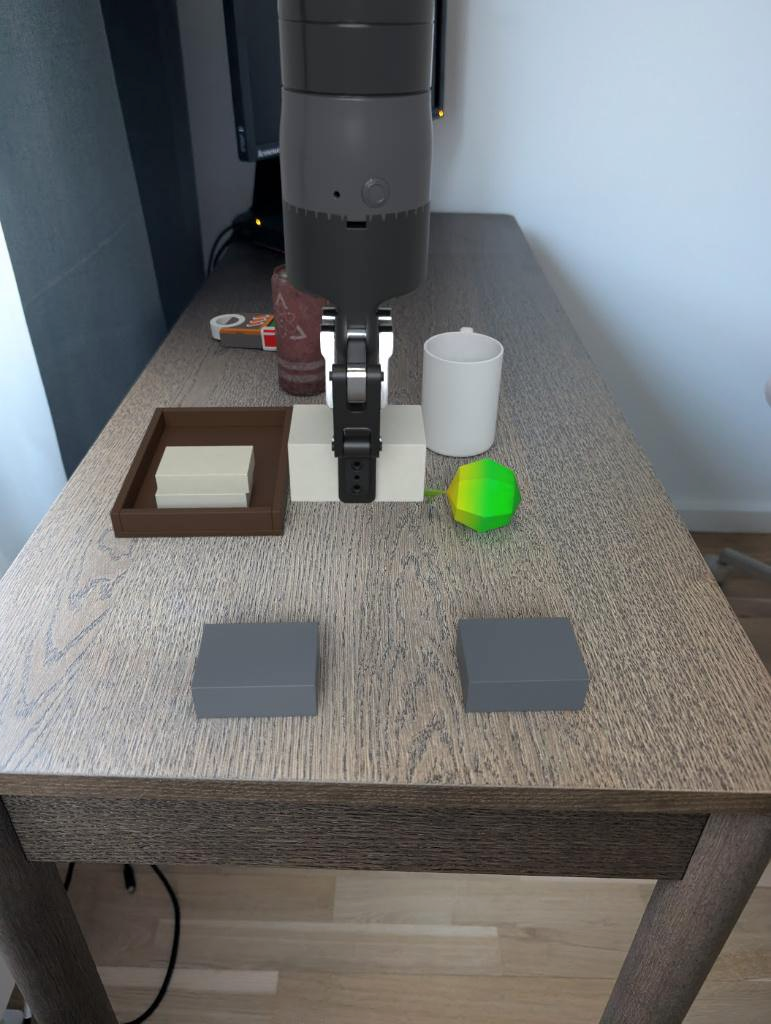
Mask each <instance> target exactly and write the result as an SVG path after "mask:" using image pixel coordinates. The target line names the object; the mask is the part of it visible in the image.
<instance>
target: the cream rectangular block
mask: <svg viewBox="0 0 771 1024" xmlns="http://www.w3.org/2000/svg"><path fill="white" fill-rule="evenodd" d="M345 429H369V428H345ZM333 435H334V430H333V410H331V409H330V408H328V406H327V405H326V404H293V413H292V420H291V426H290V433H289V440H288V457H289V473H290V477H289V486H290V487H289V488H290V489H289V490H290V502H297V503H298V502H301V503H303V502H304V503H305V502H308V503H309V502H313V503H314V502H319V503H320V502H323V503H324V502H327V503H329V502H333V503H334V502H335V503H336V502H341V501H340V499H339V494H338V458H335V457H334V451H332V442H333ZM380 436H381V442H382V451H379V458H376V498H375V500H374V501H373V502H372V503H374V502H375V503H377V502H378V503H379V502H385V503H387V502H393V503H394V502H395V503H396V502H399V503H401V502H402V503H404V502H406V503H407V502H408V503H409V502H412V503H413V502H415V503H416V502H417V503H418V502H419V503H420V502H424V499H425V498H424V489H425V480H426V479H425V478H426V463H427V444H426V437H425V430H424V423H423V416H422V409H421V404H387V406H386V408H385V409H383V410H381V412H380ZM341 503H342V502H341Z"/></svg>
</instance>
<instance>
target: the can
mask: <svg viewBox="0 0 771 1024" xmlns="http://www.w3.org/2000/svg"><path fill="white" fill-rule="evenodd" d="M270 279H271V280H270V281H271V294H272V309H273V314H274V324H275V337H276V351H275V352H276V364H277V375H278V384H279V386H280V387H281V389H282V390H283V391H284V392H285V393H287V394H289V395H292V396H297V397H311V396H316V395H319V394H322V393H323V392H326V376H325V358H324V356H323V355H322V354H321V347H320V326H321V324H322V307H329V304H330V302H329V301H327V300H325V299H323V298H320V297H317V298H314V297H311V296H308V295H306V294H304V293H302V292H300V291H298V290H297V289H296V288H294V287H293V286H292V285H291V283H290V282H289V280H288V278H287V275H286V263H284V264H281V265H278V266H276V267H275V268H274V269H273V274H272V276H271V278H270Z"/></svg>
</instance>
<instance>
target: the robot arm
mask: <svg viewBox="0 0 771 1024" xmlns="http://www.w3.org/2000/svg"><path fill="white" fill-rule="evenodd" d="M435 2H436V1H435V0H277V2H276V3H277V8H276V9H277V18H278V20H277V27H278V29H277V30H278V45H279V48H278V49H279V64H280V85H282V86H281V91H280V92H281V95H280V97H281V103H280V118H279V119H280V120H279V130H278V131H279V133H278V146H279V147H278V148H279V149H278V150H279V152H278V153H279V164H280V166H279V169H280V186H281V204H282V207H281V208H282V223H283V242H284V260H285V264H286V275H287V278H288V280H289V282H290V283H291V285H292V286H293V287H294V288H296V289H297V290H298V291H300V292H302V293H304V294H306V295H308V296H311V297H314V298H317V297H320V298H323V299H325V300H327V301H329V303H331V304H333V306H328V307H322V324H321V326H320V347H321V354H322V355H323V356H324V358H325V376H326V390H325V405H327V406H328V408H330V409H331V410H333V430H334V435H333V442H332V451H334V457H335V458H338V494H339V499H340V501H341V503H343V504H372V503H374V502H373V501H374V500H375V498H376V458H379V451H382V442H381V436H380V412H381V410H383V409H385V408H386V406H387V405H389V360H390V358H391V357H392V355H393V353H394V324H393V323H392V321H393V319H392V317H393V315H392V314H393V313H392V310H393V309H392V307H380V305H381V304H383V303H385V302H387V301H389V300H392V299H401V298H404V297H407V296H409V295H411V294H413V293H416V292H417V291H418V290H419V289H420V288H421V287H423V285H424V284H425V282H426V280H427V277H428V262H429V246H430V245H429V244H430V226H431V225H430V224H431V223H430V222H431V208H432V207H431V205H432V183H433V165H434V125H433V115H432V114H433V113H432V90H431V89H430V88H431V87H432V79H433V59H434V57H433V56H434V35H435V22H434V21H435V9H436V8H435V4H436V3H435ZM345 428H369V429H345Z"/></svg>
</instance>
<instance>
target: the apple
mask: <svg viewBox="0 0 771 1024" xmlns="http://www.w3.org/2000/svg"><path fill="white" fill-rule="evenodd" d="M439 495H446V497H447V499H448V502H449V503H448V504H449V506H450V509H451V512H452V516H453V518H454V521H457V522H459V524H462V525H464V526H466V527H468V528H470V529H472V530H474V531H476V532H478V533H480V534H481V533H485V532H488V531H492V530H496V529H499V528H502V527H504V526H508V525H509V524H510V522H511V520H512V518H513V517H514V515H515V513H516V511H517V509H518V507H519V506H520V504H521V502H522V501H523V498H522V495H521V491H520V487H519V484H518V481H517V478H516V474H515V471H514V470H513V469H510V468H508V467H506V466H505V465H502V464H501V463H499V462H497V461H496V460H493V459H491V458H489V457H486V458H482V459H479V460H477V461H473V462H470V463H467V464H464V465H463V464H462V465H459V467H458V469H457V471H456V473H455V474H454V476H453V478H452V480H451V482H450V484H449V486H448V488H447V490H446V491H445V490H441V488H439V487H437V488H436V489H426V488H424V497H425V498H426V497H428V499H427V500H426V501H425V504H427V505H429V503H430V502H431V499H433V498H435V497H437V496H439Z"/></svg>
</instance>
